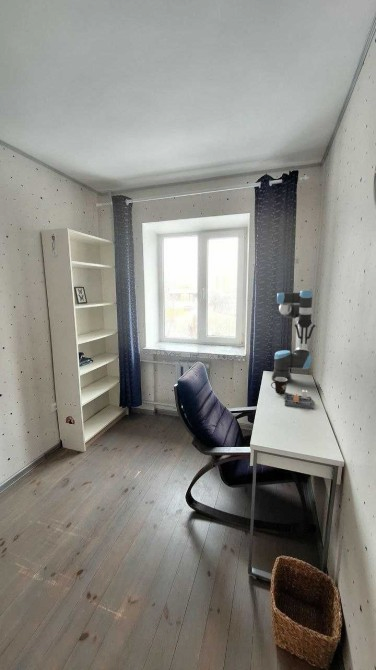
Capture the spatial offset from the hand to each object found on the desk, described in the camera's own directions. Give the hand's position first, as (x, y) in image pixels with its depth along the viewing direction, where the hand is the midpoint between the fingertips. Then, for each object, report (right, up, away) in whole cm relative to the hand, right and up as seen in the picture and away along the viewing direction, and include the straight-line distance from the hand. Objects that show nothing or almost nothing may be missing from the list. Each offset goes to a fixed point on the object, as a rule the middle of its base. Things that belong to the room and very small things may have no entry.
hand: (303, 348), depth 183 cm
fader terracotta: (-9, -33, -11) cm, 36 cm away
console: (-7, -35, -8) cm, 36 cm away
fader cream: (-2, -32, -6) cm, 33 cm away
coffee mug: (-14, -32, +9) cm, 36 cm away
